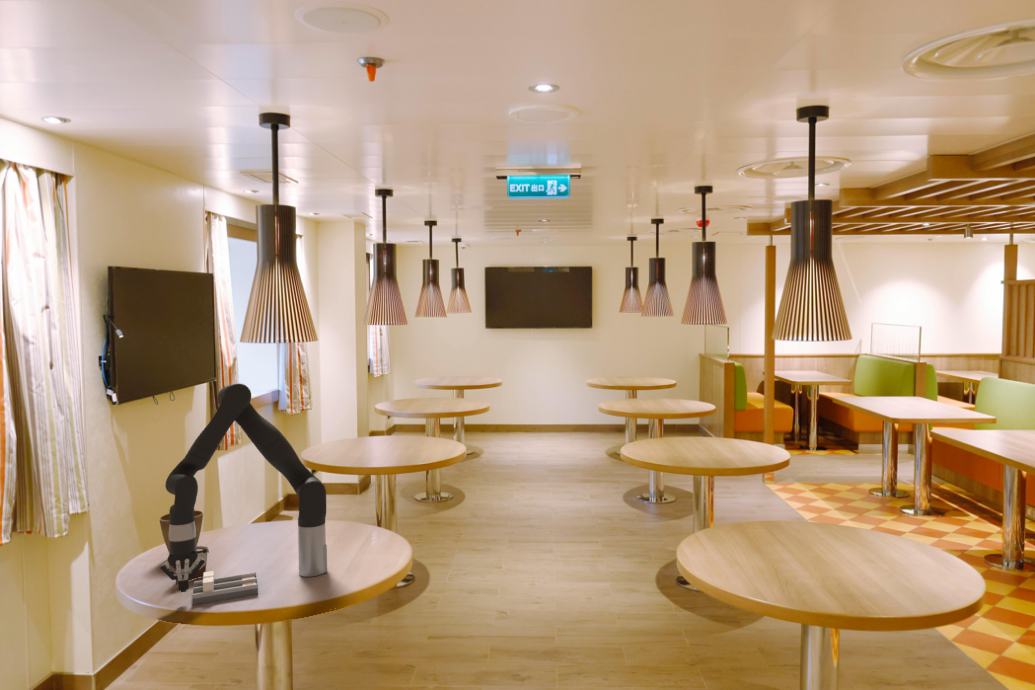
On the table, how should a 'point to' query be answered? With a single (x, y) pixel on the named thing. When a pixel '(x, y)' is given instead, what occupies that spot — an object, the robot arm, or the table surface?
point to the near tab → (208, 584)
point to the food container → (201, 553)
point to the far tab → (208, 574)
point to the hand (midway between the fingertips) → (183, 591)
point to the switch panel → (226, 588)
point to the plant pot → (165, 524)
